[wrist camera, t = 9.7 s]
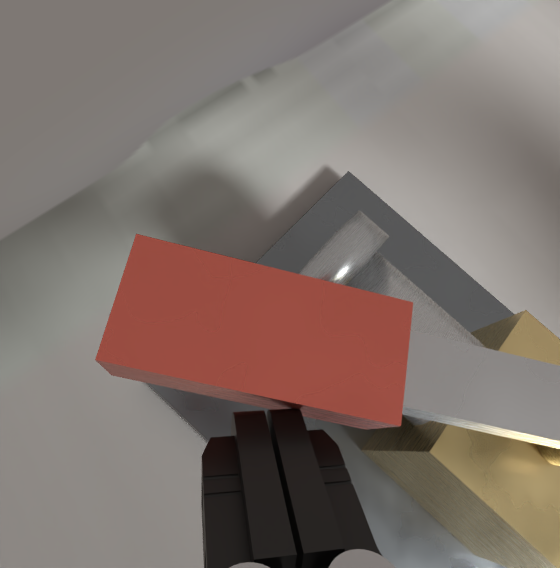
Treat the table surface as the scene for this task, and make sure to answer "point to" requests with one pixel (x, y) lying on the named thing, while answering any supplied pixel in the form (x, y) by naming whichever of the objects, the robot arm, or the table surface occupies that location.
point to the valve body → (415, 431)
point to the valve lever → (312, 349)
